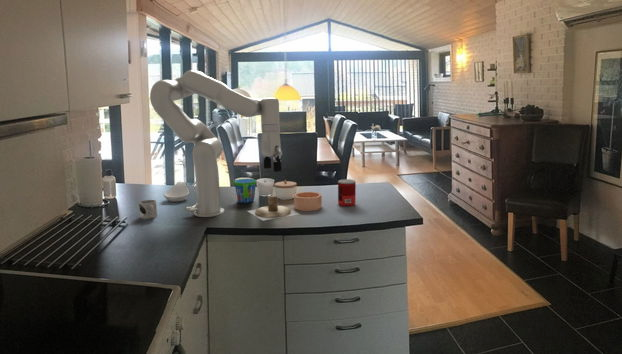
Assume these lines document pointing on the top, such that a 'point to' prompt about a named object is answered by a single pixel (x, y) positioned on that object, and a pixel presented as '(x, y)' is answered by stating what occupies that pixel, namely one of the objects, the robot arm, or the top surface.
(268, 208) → the lid
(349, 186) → the canned food
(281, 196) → the lidded jar
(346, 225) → the top surface
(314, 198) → the bowl
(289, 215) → the mat
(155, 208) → the mug
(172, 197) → the spoon rest
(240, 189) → the snack cup
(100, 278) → the top surface
